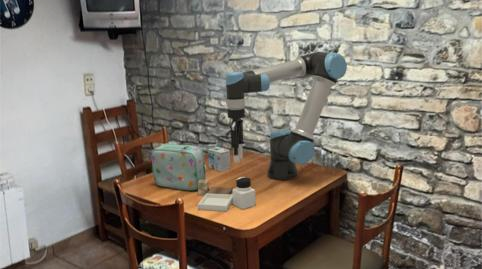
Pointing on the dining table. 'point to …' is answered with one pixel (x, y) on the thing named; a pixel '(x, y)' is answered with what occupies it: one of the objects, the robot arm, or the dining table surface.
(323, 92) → the robot arm
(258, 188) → the dining table surface
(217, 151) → the light bulb box
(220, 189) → the board
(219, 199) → the tray
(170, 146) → the lunch box
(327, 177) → the dining table surface
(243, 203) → the medicine bottle
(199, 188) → the clear glass cylinder
